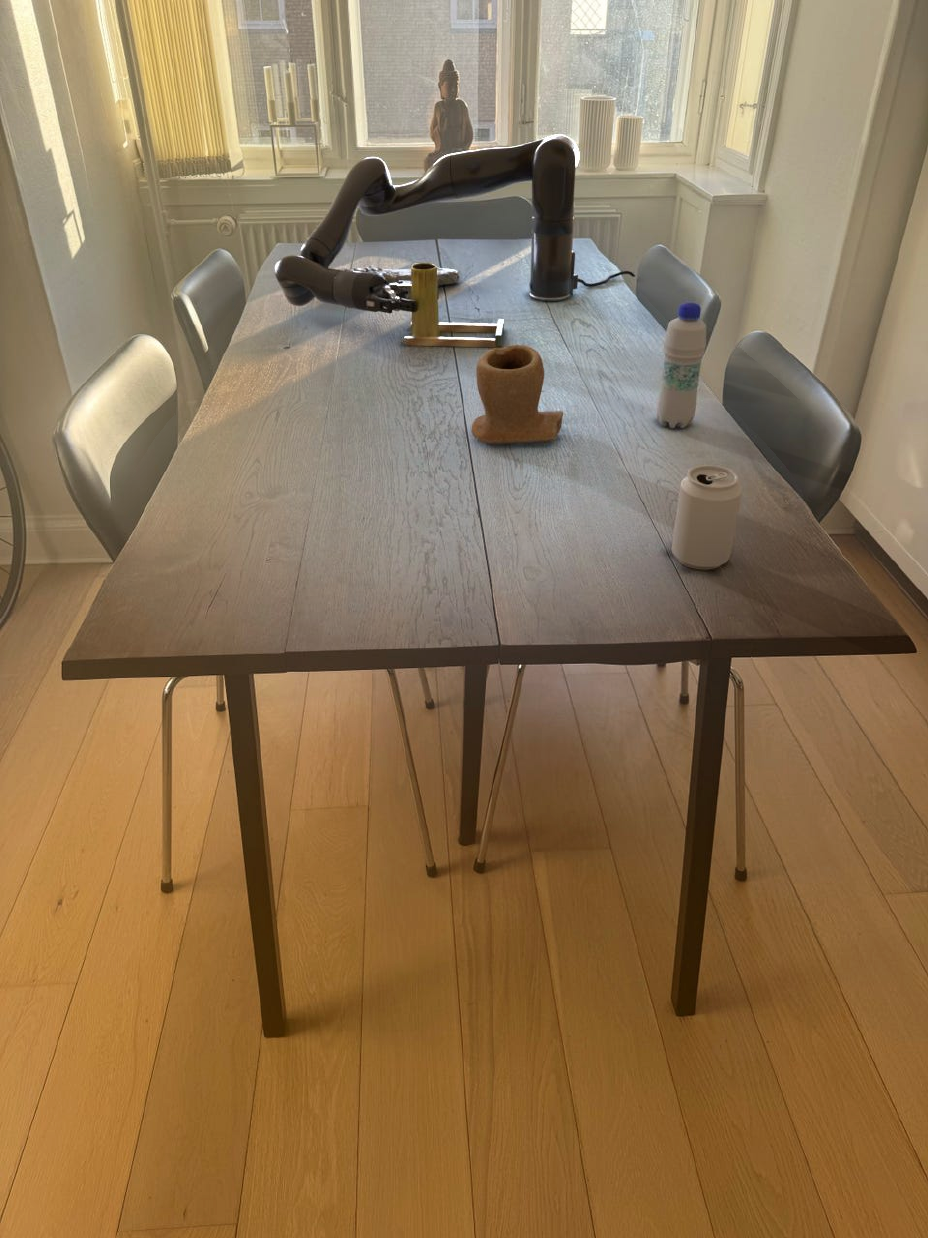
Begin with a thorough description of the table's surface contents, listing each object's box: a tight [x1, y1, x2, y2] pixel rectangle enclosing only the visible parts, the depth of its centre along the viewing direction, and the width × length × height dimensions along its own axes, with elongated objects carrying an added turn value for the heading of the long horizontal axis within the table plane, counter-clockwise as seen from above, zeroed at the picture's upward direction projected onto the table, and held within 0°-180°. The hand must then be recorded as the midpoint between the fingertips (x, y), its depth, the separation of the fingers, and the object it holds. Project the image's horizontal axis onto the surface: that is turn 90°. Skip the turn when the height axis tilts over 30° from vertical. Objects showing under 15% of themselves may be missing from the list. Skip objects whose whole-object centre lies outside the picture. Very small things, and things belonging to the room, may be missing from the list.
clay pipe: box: [470, 344, 564, 445], centre depth 150 cm, size 15×12×15 cm
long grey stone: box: [341, 265, 461, 287], centre depth 226 cm, size 35×5×10 cm
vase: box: [410, 262, 441, 337], centre depth 192 cm, size 6×6×14 cm
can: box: [670, 464, 743, 571], centre depth 120 cm, size 8×8×12 cm
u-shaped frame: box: [403, 318, 505, 349], centre depth 195 cm, size 20×10×2 cm, turn 85°
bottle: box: [656, 301, 707, 429], centre depth 154 cm, size 7×7×20 cm
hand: (427, 300), depth 192 cm, fingers open, 8 cm apart
